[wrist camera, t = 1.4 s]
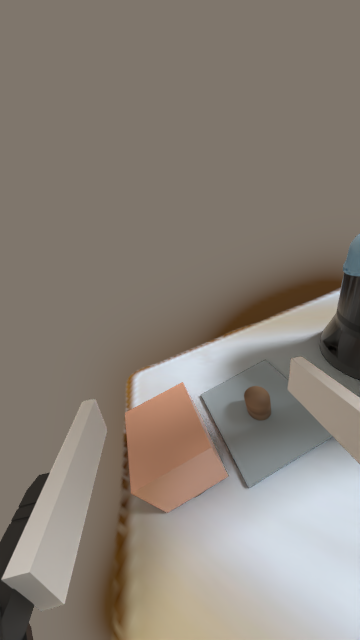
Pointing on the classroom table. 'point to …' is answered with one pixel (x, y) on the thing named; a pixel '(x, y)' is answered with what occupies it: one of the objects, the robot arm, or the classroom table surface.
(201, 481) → the pink block
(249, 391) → the walnut cylinder
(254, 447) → the felt mat
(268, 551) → the classroom table surface
